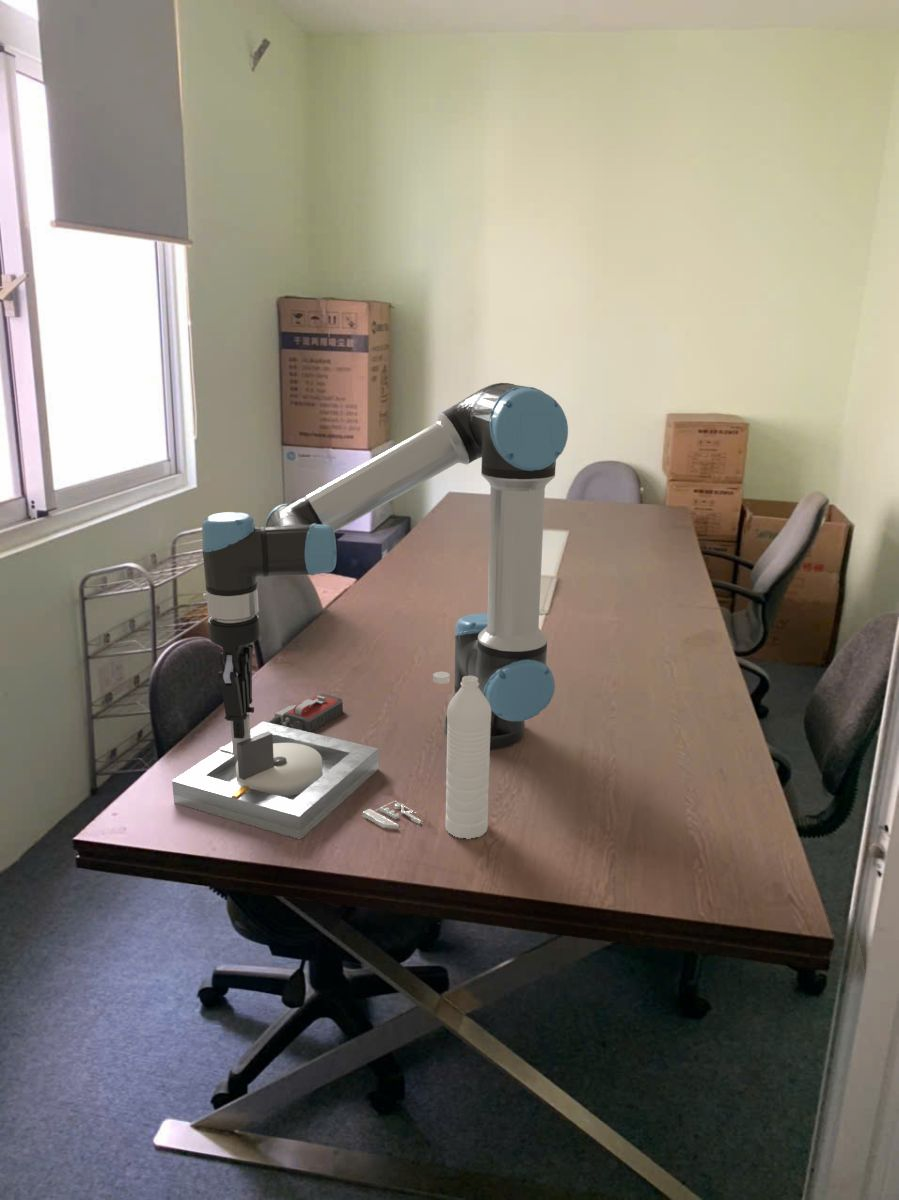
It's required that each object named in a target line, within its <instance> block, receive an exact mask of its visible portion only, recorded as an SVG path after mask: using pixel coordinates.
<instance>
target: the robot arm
mask: <svg viewBox="0 0 899 1200" xmlns="http://www.w3.org/2000/svg"><path fill="white" fill-rule="evenodd" d="M567 420H568V419H567V415H566V414H565V412H564V409H563V408H562V406H561V405H560V404H559V403H558V402H557V400H555V398H553V397H552V396H550V395H549V394H547V393H546V392H544V391H542V390H541V389H538V388H536V387H533V386H525V385H518V384H514V383H509V382H499V383H493V384H489V385H487V386H485V387H483V388H481V389H479V390H477V391H476V392H474V393H473V394H470V395H469V396H467V397H465V398H464V399H462V400H461V401H459V402H457V403H456V404H454V405H452V406H451V407H449V408H447V409H445V410H444V411H441V412H440V413H439V414H438V416H437V420H436V422H434V423H433V424H431V425H430V426H427V427H426V428H424V429H422V430H421V431H419V432H418V433H415V434H413V435H412V436H410V437H408V438H406V439H405V440H403V441H401V442H399V443H398V444H396V445H394V446H392V447H391V448H389V449H387V450H386V451H384V452H381V453H380V454H378V455H376V456H374V457H373V458H371V459H369V460H368V461H365V462H364V463H361V465H359V466H357V467H355V468H353V469H352V470H350V471H348V472H346V473H344V474H343V475H340V476H339V477H337V478H336V479H334V480H332V481H330V482H328V483H327V484H325V485H323V486H320V487H318V488H317V489H316V490H314V491H312V492H311V493H309V494H306V496H304V497H302V498H300V499H297V500H296V501H294V502H293V503H283V504H279V505H277V506H275V507H274V508H273V509H272V510H271V511H270V512H269V514H268V515H267V517H266V520H265V526H256V524H255V522H254V518H253V517H252V515H250V514H248V513H247V512H235V511H226V512H225V511H224V512H218V513H217V512H216V513H213V514H211V515H210V514H209V516H207V517H205V519H204V520H203V522H202V524H201V530H202V531H201V532H202V533H201V535H202V537H201V538H202V540H201V541H202V557H203V558H202V559H203V569H204V579H205V590H206V593H203V597H202V598H203V600H205V601H207V604H206V605H207V614H208V616H209V617H208V619H207V622H208V635H209V640H210V641H211V642H212V643H213V644H215V645H216V646H217V645H218V646H220V647H221V648H222V652H221V653H220V656H219V659H220V660H219V661H220V665H221V666H222V671H218V674H217V678H218V682H219V683H220V687H221V694H222V700H223V706H224V712H225V716H224V720H226V721H228V722H230V731H231V742H232V748H233V754H237V743H239V742H242V741H244V740H247V739H249V738H251V734H250V730H251V722H250V720H251V718H250V714H254V713H255V707H253V706H250V705H252V703H253V650H254V644H253V643H255V642H256V641H257V640H258V639H259V638H260V634H261V633H260V617H259V615H258V613H259V611H260V609H259V594H258V592H259V591H258V582H257V580H258V577H259V578H261V577H263V578H264V577H281V576H282V577H284V576H285V577H286V576H287V577H288V576H308V575H309V576H315V575H321V574H326V573H328V574H329V573H331V572H333V571H334V570H335V568H336V565H337V557H338V556H337V543H336V542H337V541H336V532H338V531H339V530H341V529H342V528H344V527H346V526H348V525H350V524H351V523H354V522H356V521H357V520H359V519H361V518H362V517H364V516H365V515H368V514H370V513H371V512H373V511H375V510H377V509H378V508H380V507H382V506H383V505H385V504H387V503H389V502H390V501H393V500H394V499H395V498H398V497H400V496H402V495H403V494H405V493H407V492H409V491H410V490H412V489H414V488H416V487H417V486H419V485H421V484H422V483H425V482H426V481H428V480H430V479H432V478H434V477H435V476H437V475H439V474H441V473H442V472H444V471H446V470H448V469H449V468H451V467H453V466H455V465H457V464H463V465H466V466H467V465H469V464H471V463H472V462H475V461H476V460H478V459H480V458H481V472H480V473H481V476H482V477H483V478H484V479H485V480H486V482H488V484H489V485H490V495H489V496H490V497H489V499H490V501H489V534H488V535H489V539H488V540H489V541H488V571H487V572H488V573H487V574H488V575H487V576H488V579H487V580H488V581H487V582H488V583H487V612H483V613H471V614H467V615H464V616H462V617H460V618H459V619H457V621H456V625H455V632H454V637H455V639H454V694H453V697H454V696H455V694H456V693H457V692H458V690H459V689H460V688H461V684H460V683H461V682H462V678H463V677H464V676H475V677H477V678H478V683H479V686H478V687H479V689H480V690H481V692H482V693H483V695H484V696H485V697H486V699H487V700H488V702H489V704H490V707H491V723H490V725H491V728H490V750H499V749H504V748H509V747H511V746H513V745H515V744H518V742H520V741H522V739H523V738H524V735H525V724H526V723H525V721H527V720H530V719H532V718H535V717H536V716H539V715H540V713H541V712H542V711H543V710H545V709H546V708H547V707H548V706H549V704H550V703H551V701H552V699H553V696H554V693H555V689H556V682H555V678H554V675H553V671H552V670H551V669H550V668H549V666H548V665H547V656H548V654H547V653H548V636H547V635H546V634H545V633H544V632H543V631H542V630H541V629H540V628H539V625H540V603H541V586H542V585H541V582H542V581H541V579H542V560H543V557H542V556H543V536H544V516H545V515H544V514H545V513H544V512H545V511H544V510H545V495H546V493H545V492H546V491H545V489H546V485H548V484H550V482H551V481H552V480H553V479H554V478H555V477H556V465H557V459H558V458H559V457H560V455H562V453H563V452H564V449H565V448H566V445H567V441H568V437H569V427H568V426H569V424H568V421H567ZM453 697H452V698H453ZM447 723H448V722H447V714H445V719H444V734H445V736H446V737H447Z"/></svg>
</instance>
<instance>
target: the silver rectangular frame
mask: <svg viewBox="0 0 899 1200" xmlns="http://www.w3.org/2000/svg"><path fill="white" fill-rule="evenodd" d="M268 722H269V721H261V722H260V723H258V724H257V725H255V726H254V727H252V728H250V734H251V738H252V737H254V736H257V735H259V734H262V733H264V732H267V731H268V732H270V733H272V737H273V744H274V743H297V744H302V745H306V746H309V747H311V748H313V749H315V750H316V751H318V752H319V754H320V755H321V757H322V776H321V777H320V778H319V779H318V780H317V781H315V782H314V783H313V784H312V785H310V786H309V787H308V788H307V789H306V790H304V791H303V792H302V793H299V794H296V795H292V796H287V797H281V796H277V795H273V794H270V793H266V792H262V791H259V790H255V789H251V788H249V787H248V786H240V785H238V784H237V779H236V762H237V760H238V756H237V754H233V748H232V741H231V742H229V743H228V744H225V746H221V747H219V749H218V750H217V751H216V752H214V753H212V754H211V755H209V756H207V757H206V758H205V759H202V760H201V761H199V762H198V763H196V765H194V766H192V767H191V768H190V769H188V770H186V771H185V772H184V773H182V774H179V776H177V777H176V778H174V779H172V781H171V782H172V783H171V785H172V793H173V794H172V795H173V803H174V804H176V805H180V806H184V807H187V808H191V809H193V808H194V809H193V810H197V809H198V811H200V810H201V812H203V811H204V813H208V814H210V813H211V815H214V816H217V817H221V818H225V819H228V820H232V821H235V822H239V823H242V824H244V823H245V824H244V825H248V824H249V825H248V826H251V825H252V827H255V826H256V828H258V827H259V829H261V828H262V830H265V829H266V831H268V830H269V832H272V833H275V832H276V833H275V834H278V833H279V835H282V836H285V835H286V836H287V837H289V836H290V837H289V838H292V837H293V839H295V838H297V839H296V840H299V839H301V838H302V839H303V838H304V837H306V835H307V834H308V832H309V833H310V832H311V831H312V830H313V829H314V828H315V827H316V826H317V825H318V824H319V823H321V822H322V821H323V820H324V819H325V818H326V817H327V816H329V814H331V813H332V812H333V811H334V810H335V809H336V808H338V806H340V805H341V804H342V803H343V802H345V800H347V798H349V796H351V795H352V794H353V793H354V792H356V790H357V789H358V788H360V787H361V786H362V785H363V784H364V783H365V782H366V781H367V780H368V779H370V778H371V777H372V776H373V775H374V774H375V773H376V772H377V771H379V748H377V747H374V746H369V745H365V744H361V743H357V742H353V741H348V740H344V739H339V738H336V737H332V736H327V735H323V734H319V733H314V732H306V731H302V730H298V729H293V728H289V727H285V726H282V724H281V725H280V724H272V723H268ZM310 830H311V831H310ZM286 836H285V837H286ZM302 839H301V840H302Z"/></svg>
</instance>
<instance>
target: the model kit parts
mask: <svg viewBox="0 0 899 1200" xmlns="http://www.w3.org/2000/svg"><path fill="white" fill-rule="evenodd" d="M393 803H394V804H393ZM390 804H393V805H394V806H393V808H394V809H395V810H394V809H391V808H389V807H387V806H389V805H390ZM405 808H406V809H408V810H405ZM390 809H391V810H390ZM378 810H379V812H381V813H382V814H384V815H386V816H388V817H389V816H390V818H391V817H392V818H391V819H393V818H394V819H393V820H395V819H396V820H397V818H398V819H399V818H400V815H399V813H398V812H396V813H395V811H396V810H400V814H402V815H405V816H407V817H409V818H410V821H411V820H412V821H411V822H413V821H414V822H416V823H418V824H419V825H421V824H422V823H421V822H422V820H421V818H419V817H417V816H416V815H413V814H412V813H413V811H414V810H413V809H411V808H409V807H408V806H406V805H405V804H404V803H401V802H398V800H393V801H391V802H389V803H386V804H385V805H382V806H381V807H379V808H377V809H375V810H373V809H372V808H367V809H366V810H364V811H362V818H364V819H365V820H367V819H368V820H367V821H369V820H370V821H369V822H371V821H372V822H374V823H375V825H376V824H377V825H379V826H381V827H382V828H388V829H387V830H391V829H400V825H399V824H398V823H397V822H394V821H393V820H391V819H390V818H387V817H386V816H384V815H382V814H380V813H378V812H377V811H378ZM410 813H411V814H410ZM414 813H415V814H416V813H418V812H416V811H415V812H414ZM372 822H371V823H372ZM414 822H413V823H414ZM374 823H373V824H374ZM416 823H415V824H416ZM420 823H421V824H420ZM377 825H376V826H377ZM379 826H378V827H379ZM381 827H380V828H381ZM382 828H381V829H382ZM389 828H391V829H389Z"/></svg>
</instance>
